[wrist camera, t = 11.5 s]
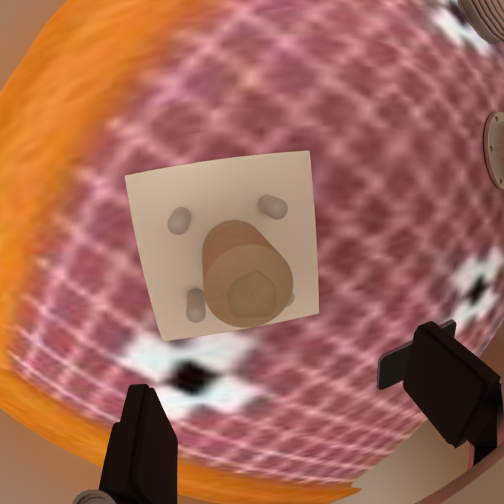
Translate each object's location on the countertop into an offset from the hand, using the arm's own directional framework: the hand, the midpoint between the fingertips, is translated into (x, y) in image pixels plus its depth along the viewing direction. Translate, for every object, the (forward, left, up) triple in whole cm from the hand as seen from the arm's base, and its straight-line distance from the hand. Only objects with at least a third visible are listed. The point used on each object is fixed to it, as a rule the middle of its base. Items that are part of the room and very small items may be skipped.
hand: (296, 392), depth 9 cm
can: (-45, -34, -20) cm, 59 cm away
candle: (0, 0, -18) cm, 18 cm away
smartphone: (-25, +21, -20) cm, 38 cm away
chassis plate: (0, 0, -19) cm, 19 cm away
